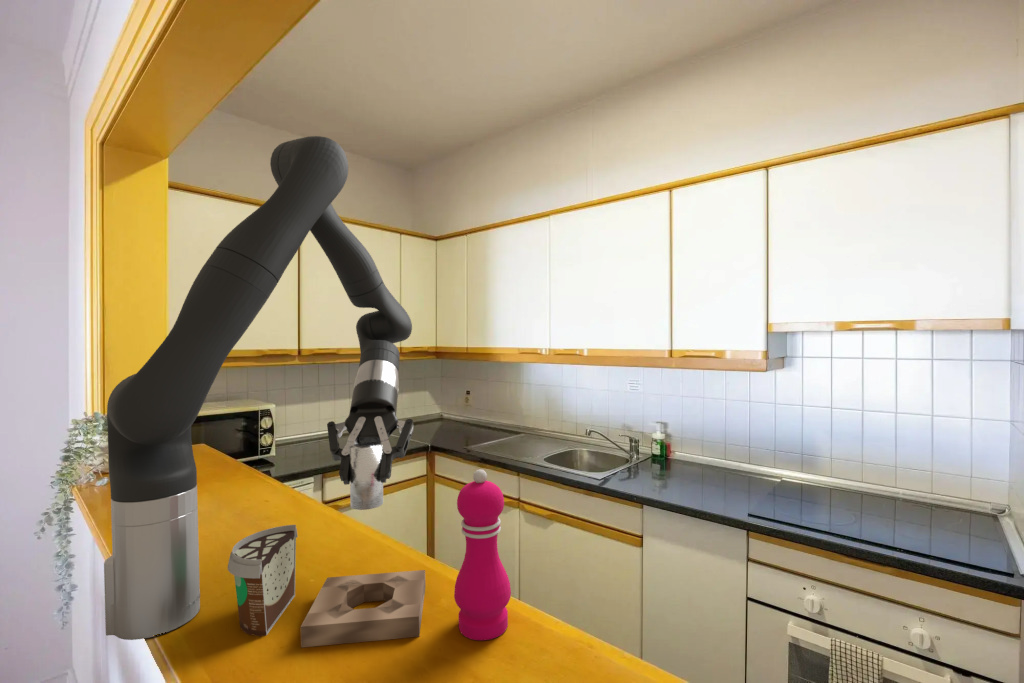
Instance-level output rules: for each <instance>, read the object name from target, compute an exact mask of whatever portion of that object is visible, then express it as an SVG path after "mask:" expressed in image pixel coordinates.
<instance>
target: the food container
mask: <svg viewBox="0 0 1024 683" xmlns="http://www.w3.org/2000/svg"><path fill="white" fill-rule="evenodd" d="M297 538H298V529H297V525H296V524H288V525H287V524H286V525H280V526H275V527H271V528H268V529H267V528H266V529H264V530H261V531H257V532H254V533H253V534H249V535H248V536H245V537H244V538H242V539H241V540H239V541H238V542H236V543H235V544H234V546H233V547H232V550H231V552H230V555H229V559H228V564H227V571H228V572H229V573H230V574H231V575H233V576H234V584H235V594H236V602H237V610H238V611H237V612H238V619H239V620H238V621H239V628H240V630H241V631H243V632H244V633H245V634H248V635H251V636H257V637H258V636H259V637H262V636H267V635H268V634H269V633H270V631H271V630H272V629H273V627H274V626H275V624H276V623H277V622H278V620H279V619H280V617H281V616H282V615H283V613H284V612H285V611H286V609H287V608H288V607H289V605H290V604H291V602H292V600H293V599H294V598H295V597H296V559H297V558H296V556H297V555H296V554H297V551H296V550H297V548H296V547H297V542H296V541H297Z"/></svg>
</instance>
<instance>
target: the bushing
mask: <svg viewBox="0 0 1024 683" xmlns="http://www.w3.org/2000/svg"><path fill="white" fill-rule="evenodd" d="M382 455H384V453H383V451H382V443H377V442H366V443H358V444H354V445H351V446H350V484H349V485H350V486H349V487H350V488H349V489H350V491H349V492H350V493H349V496H350V497H349V498H350V508H351V509H353V510H356V511H357V510H359V511H362V510H363V511H365V510H373V509H375V508H379V507H381V506H382V505H384V483H381V480H380V469H381V459H382Z"/></svg>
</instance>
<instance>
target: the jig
mask: <svg viewBox="0 0 1024 683" xmlns="http://www.w3.org/2000/svg"><path fill="white" fill-rule="evenodd" d="M425 594H426V570H425V569H422V570H421V569H420V570H409V571H408V570H406V571H396V572H395V571H394V572H382V573H381V572H380V573H367V574H358V575H357V574H356V575H343V576H342V575H341V576H330V577H326V580H325V581H324V582H323V584H322V587H321V588H320V590H319V591H318V594H317V596H316V598H315V600H314V601H313V603H312V604H311V607H310V609H309V610H308V612H307V614H306V616H305V618H304V620H303V622H302V623H301V625H300V648H311V647H320V646H321V647H322V646H330V645H341V644H342V645H343V644H354V643H365V642H375V641H386V640H387V641H388V640H395V639H397V640H398V639H405V638H407V639H408V638H420V633H421V624H422V618H423V617H422V616H423V611H424V610H423V609H424V601H425V600H424V599H425ZM378 601H379V602H380V601H384V603H382V604H380V605H378V606H376V607H368V608H357V609H356V608H355V607H357V606H358V605H361V604H363V603H364V602H365V603H366V602H378ZM354 608H355V609H354Z"/></svg>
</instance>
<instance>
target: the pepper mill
mask: <svg viewBox="0 0 1024 683" xmlns="http://www.w3.org/2000/svg"><path fill="white" fill-rule="evenodd" d="M472 477H473V478H472V479H473V481H471V482H468V483H467V484H465V485H464V486H463V487H462V488H461V489H460V490H459V492H458V496H457V499H456V507H457V510H458V511H457V512H458V513H459V515H460V516H461V517H462V520H461V526H462V528H461V533H462V535H463V536H465V553H464V559H463V561H462V565H461V567H460V570H459V572H458V574H457V576H456V581H455V584H454V592H453V593H454V595H453V598H454V602H455V604H456V605H457V607H458V608H459V609H460V610H459V612H458V630H459V631H460V634H461V635H463V636H464V637H465V638H467V639H470V640H474V641H490V640H493V639H496V638H498V637H499V636H501V635H503V634H504V633H505V632H506V631H507V628H508V626H509V623H508V622H509V621H508V619H509V618H508V617H509V616H508V615H509V613H508V609H507V606H508V603H509V602H510V600H511V594H512V590H511V588H512V587H511V582H510V580H509V579H510V578H509V575H508V573H507V571H506V569H505V567H504V564H503V562H502V561H501V558H500V554H499V550H498V549H499V548H498V537H499V536H498V534H500V532H501V530H502V527H501V519H500V517H499V516H500V515H501V514H502V512H503V511H504V507H505V498H504V494H503V492H502V489H501V488H500V487H499V486H498V485H497V484H496V483H494V482H492V481H489V480H487V478H488V474H487V472H486V471H485V470H484V469H477V470H475V471H474V472H473V476H472Z"/></svg>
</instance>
